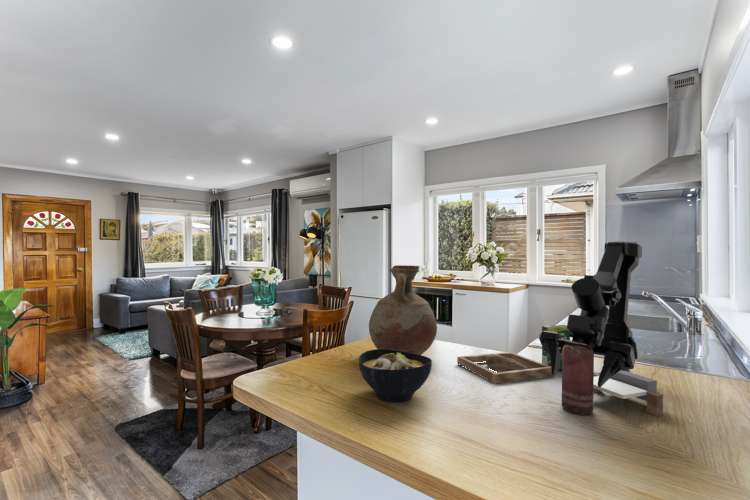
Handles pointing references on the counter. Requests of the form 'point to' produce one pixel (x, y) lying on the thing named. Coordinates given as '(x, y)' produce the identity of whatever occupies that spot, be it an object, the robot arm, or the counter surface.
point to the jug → (403, 317)
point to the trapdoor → (627, 385)
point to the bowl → (394, 373)
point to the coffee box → (564, 335)
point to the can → (577, 379)
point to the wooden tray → (500, 377)
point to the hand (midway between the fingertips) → (575, 380)
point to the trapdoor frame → (648, 401)
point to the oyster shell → (503, 363)
